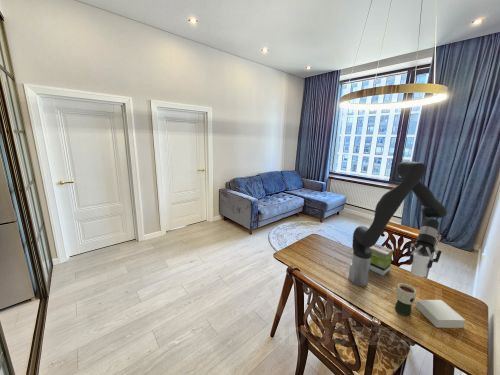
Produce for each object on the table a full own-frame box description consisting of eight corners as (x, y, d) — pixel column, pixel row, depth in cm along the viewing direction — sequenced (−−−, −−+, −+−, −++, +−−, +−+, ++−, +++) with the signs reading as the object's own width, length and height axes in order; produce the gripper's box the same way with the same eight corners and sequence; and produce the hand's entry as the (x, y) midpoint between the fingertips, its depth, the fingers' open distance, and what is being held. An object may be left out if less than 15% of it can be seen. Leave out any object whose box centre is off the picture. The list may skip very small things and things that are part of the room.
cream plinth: (436, 327, 93) (438, 319, 93) (415, 306, 105) (417, 299, 104) (463, 327, 93) (465, 320, 93) (439, 306, 105) (441, 300, 104)
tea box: (358, 265, 140) (361, 244, 137) (365, 260, 146) (368, 240, 143) (383, 276, 129) (387, 254, 125) (390, 270, 135) (393, 249, 131)
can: (428, 278, 108) (433, 257, 105) (414, 277, 109) (418, 256, 106) (421, 271, 114) (425, 251, 111) (407, 269, 115) (411, 249, 113)
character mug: (408, 322, 96) (413, 297, 93) (390, 313, 101) (394, 289, 98) (414, 310, 103) (418, 286, 100) (396, 302, 108) (400, 279, 105)
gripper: (410, 229, 117) (402, 256, 112) (445, 238, 107) (438, 268, 102) (410, 235, 122) (403, 261, 116) (444, 244, 112) (437, 273, 106)
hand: (419, 264), depth 109 cm, fingers closed on can, 6 cm apart
